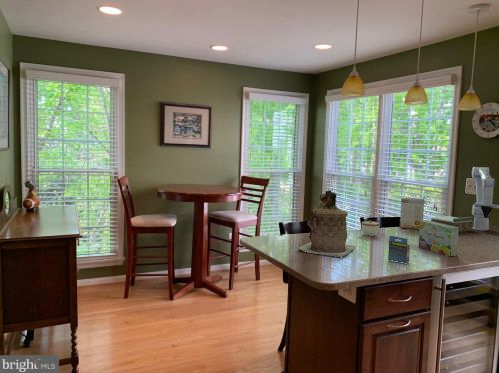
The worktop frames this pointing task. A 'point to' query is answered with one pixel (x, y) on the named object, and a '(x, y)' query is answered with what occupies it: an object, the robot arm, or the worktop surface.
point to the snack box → (438, 237)
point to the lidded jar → (370, 228)
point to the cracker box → (411, 212)
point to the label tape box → (398, 249)
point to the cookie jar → (328, 229)
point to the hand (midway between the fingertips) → (486, 217)
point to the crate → (457, 225)
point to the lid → (454, 219)
